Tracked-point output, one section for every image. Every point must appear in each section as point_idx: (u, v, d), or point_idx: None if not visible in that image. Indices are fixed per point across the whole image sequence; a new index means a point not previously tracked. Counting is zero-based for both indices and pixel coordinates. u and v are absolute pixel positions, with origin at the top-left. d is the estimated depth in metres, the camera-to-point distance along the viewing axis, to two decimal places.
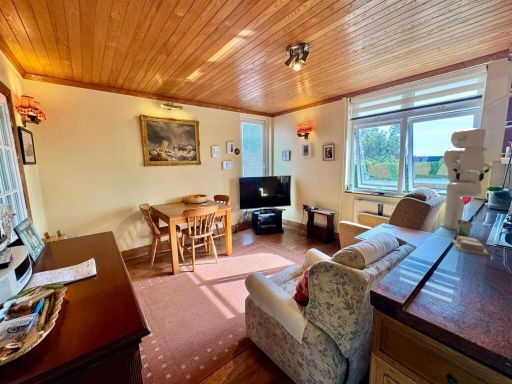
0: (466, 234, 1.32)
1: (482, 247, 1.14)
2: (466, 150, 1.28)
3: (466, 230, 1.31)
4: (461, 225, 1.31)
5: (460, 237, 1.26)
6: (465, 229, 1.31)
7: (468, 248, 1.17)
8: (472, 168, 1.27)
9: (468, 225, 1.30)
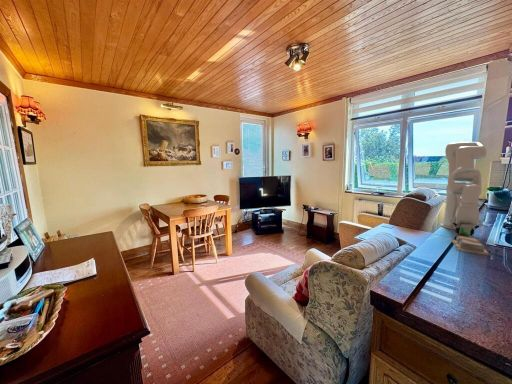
0: (467, 234, 1.31)
1: (482, 247, 1.14)
2: (462, 205, 1.32)
3: (467, 230, 1.31)
4: (462, 225, 1.30)
5: (460, 237, 1.26)
6: (466, 229, 1.31)
7: (468, 248, 1.17)
8: (467, 222, 1.32)
9: (469, 225, 1.30)
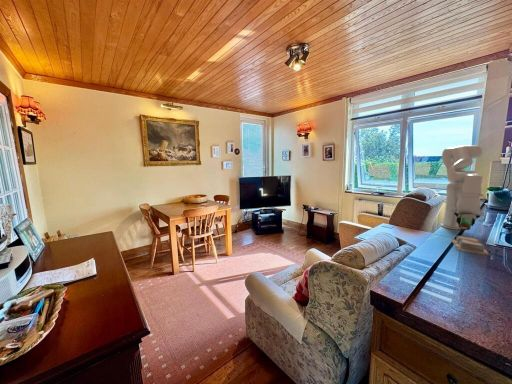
0: (468, 224, 1.31)
1: (482, 247, 1.14)
2: (463, 195, 1.32)
3: (468, 220, 1.30)
4: (463, 215, 1.30)
5: (460, 237, 1.26)
6: (467, 219, 1.30)
7: (468, 248, 1.17)
8: (468, 212, 1.31)
9: (470, 215, 1.30)
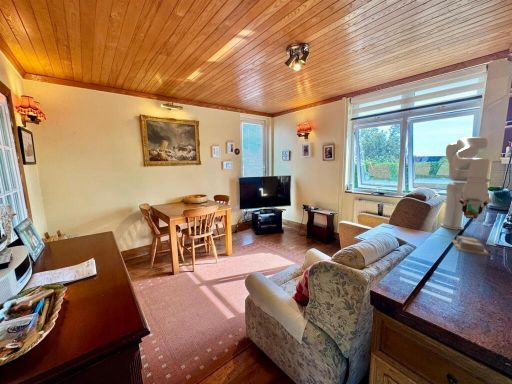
0: (475, 212, 1.21)
1: (482, 247, 1.14)
2: (469, 180, 1.22)
3: (475, 207, 1.20)
4: (470, 202, 1.20)
5: (460, 237, 1.26)
6: (474, 206, 1.20)
7: (468, 248, 1.17)
8: (475, 199, 1.22)
9: (477, 201, 1.20)
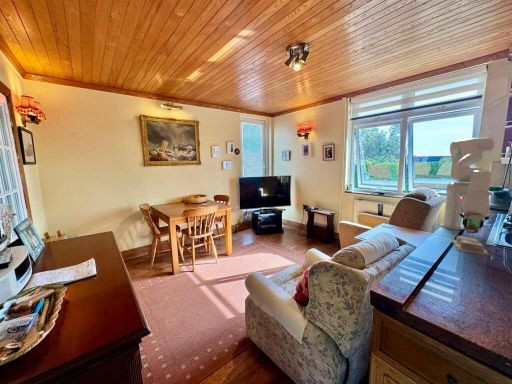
0: (476, 226, 1.16)
1: (482, 247, 1.14)
2: (469, 193, 1.17)
3: (476, 221, 1.15)
4: (470, 216, 1.15)
5: (460, 237, 1.26)
6: (475, 221, 1.15)
7: (468, 248, 1.17)
8: (476, 213, 1.17)
9: (478, 216, 1.15)
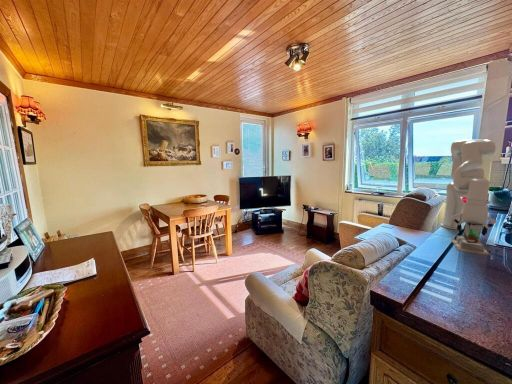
0: (476, 236, 1.17)
1: (482, 247, 1.14)
2: (468, 202, 1.18)
3: (477, 231, 1.16)
4: (471, 226, 1.16)
5: (460, 237, 1.26)
6: (476, 231, 1.16)
7: (468, 248, 1.17)
8: (475, 221, 1.17)
9: (479, 226, 1.15)
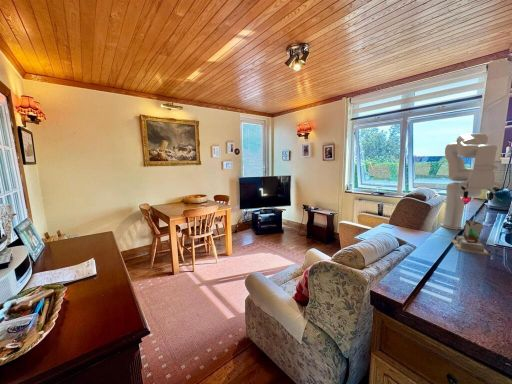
0: (476, 236, 1.17)
1: (482, 247, 1.14)
2: (475, 168, 1.20)
3: (477, 231, 1.16)
4: (471, 226, 1.16)
5: (460, 237, 1.26)
6: (476, 231, 1.16)
7: (468, 248, 1.17)
8: (481, 187, 1.20)
9: (479, 226, 1.15)
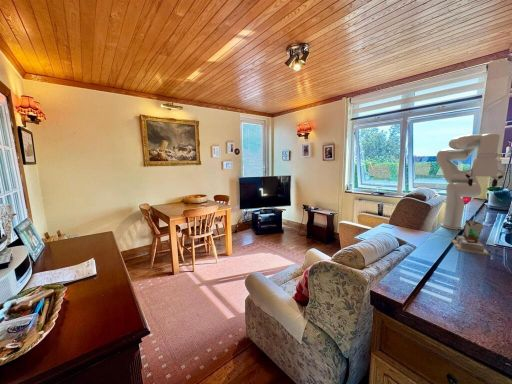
0: (476, 236, 1.17)
1: (482, 247, 1.14)
2: (479, 156, 1.25)
3: (477, 231, 1.16)
4: (471, 226, 1.16)
5: (460, 237, 1.26)
6: (476, 231, 1.16)
7: (468, 248, 1.17)
8: (485, 174, 1.24)
9: (479, 226, 1.15)
